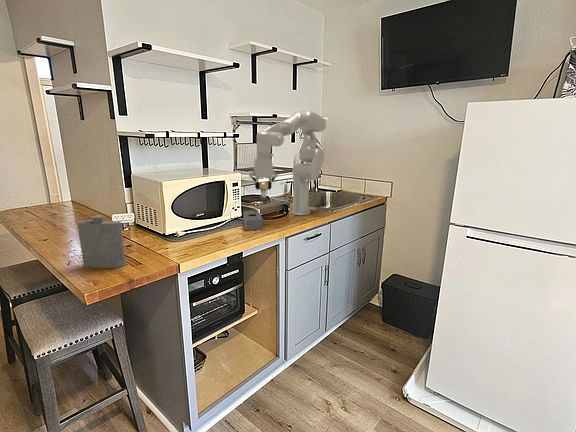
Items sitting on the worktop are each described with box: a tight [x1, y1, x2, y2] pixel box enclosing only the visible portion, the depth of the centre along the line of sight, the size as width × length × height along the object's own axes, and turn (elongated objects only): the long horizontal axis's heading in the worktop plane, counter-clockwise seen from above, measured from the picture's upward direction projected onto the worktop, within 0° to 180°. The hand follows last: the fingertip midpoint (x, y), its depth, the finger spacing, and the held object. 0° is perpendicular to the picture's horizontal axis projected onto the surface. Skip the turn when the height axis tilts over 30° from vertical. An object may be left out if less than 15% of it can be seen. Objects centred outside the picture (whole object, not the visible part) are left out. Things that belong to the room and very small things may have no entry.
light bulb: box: [258, 181, 269, 199], centre depth 181 cm, size 6×6×8 cm
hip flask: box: [76, 214, 127, 269], centre depth 125 cm, size 16×4×20 cm, turn 89°
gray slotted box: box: [242, 210, 264, 231], centre depth 184 cm, size 9×20×6 cm, turn 12°
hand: (263, 189), depth 180 cm, fingers closed on light bulb, 6 cm apart
